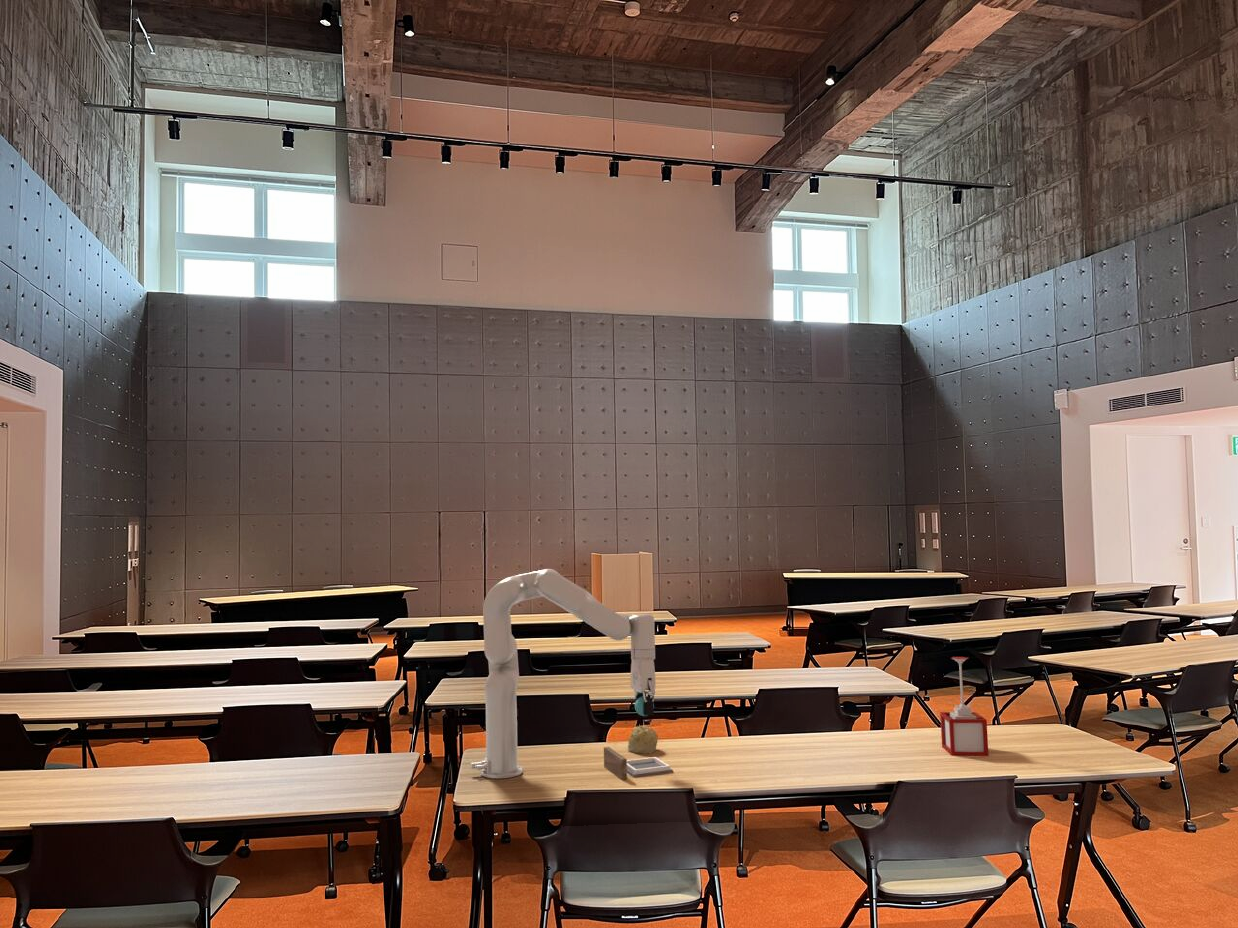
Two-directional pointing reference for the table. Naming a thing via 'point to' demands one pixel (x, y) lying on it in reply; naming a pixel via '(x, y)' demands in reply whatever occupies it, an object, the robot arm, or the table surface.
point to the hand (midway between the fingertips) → (644, 712)
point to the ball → (640, 706)
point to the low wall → (615, 763)
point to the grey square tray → (647, 767)
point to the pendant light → (963, 728)
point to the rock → (642, 740)
